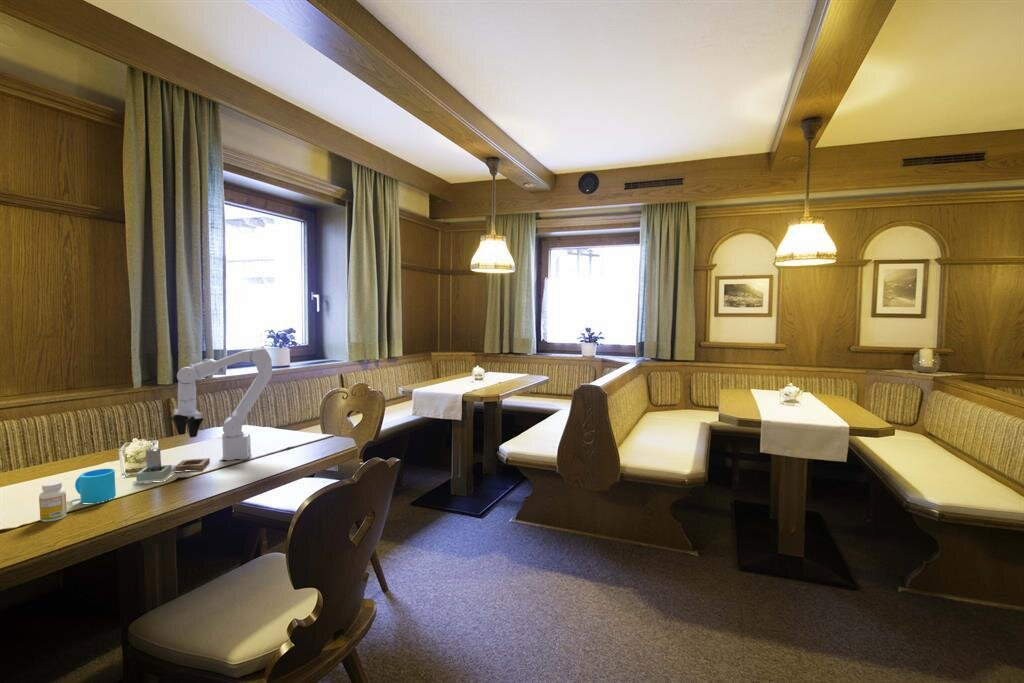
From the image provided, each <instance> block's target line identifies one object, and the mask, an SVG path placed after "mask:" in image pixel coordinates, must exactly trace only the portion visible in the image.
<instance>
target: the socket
mask: <svg viewBox="0 0 1024 683" xmlns="http://www.w3.org/2000/svg"><path fill="white" fill-rule="evenodd" d="M210 461H211V460H210V458H209V457H207V458H205V457H204V458H195V459H192V458H191V459H183V460H181V461H180V462H178V463H177V465H175V466H174V471H185V470H201V471H204V470H205V469H206V468H207V467H208V466H209V465H210V464H211V462H210ZM209 463H210V464H209ZM208 464H209V465H208ZM207 465H208V466H207ZM206 466H207V467H206ZM205 467H206V468H205ZM204 468H205V469H204ZM203 469H204V470H203Z"/></svg>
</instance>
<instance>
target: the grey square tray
mask: <svg viewBox="0 0 1024 683" xmlns="http://www.w3.org/2000/svg"><path fill="white" fill-rule="evenodd" d="M161 469H162V470H161V471H153V472H147V466H145V467H144V468H141V470H139V471H137V473H136V474H135V475H136V477H135V478H136V479H135V480H134V481H133V482H132V483H133V484H132V485H135V484H134V483H144V484H146V483H145V482H153V481H164V480H166V479H167V478H168V477H169V476H170V475H172V474H173V473H174V472H175V470H174V471H172V469H173V468H172V464H165V465H164V464H163V465H161ZM175 473H176V472H175ZM172 476H173V475H172Z"/></svg>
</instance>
